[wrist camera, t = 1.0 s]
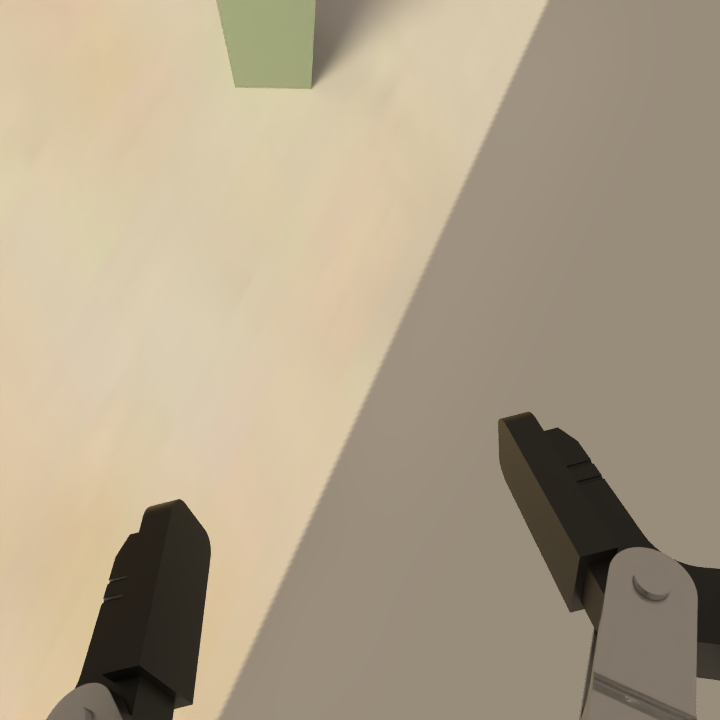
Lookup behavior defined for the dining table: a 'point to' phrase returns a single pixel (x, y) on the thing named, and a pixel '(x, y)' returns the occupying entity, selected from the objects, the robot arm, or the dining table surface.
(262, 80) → the sage pillar block
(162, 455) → the dining table surface
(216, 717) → the dining table surface
